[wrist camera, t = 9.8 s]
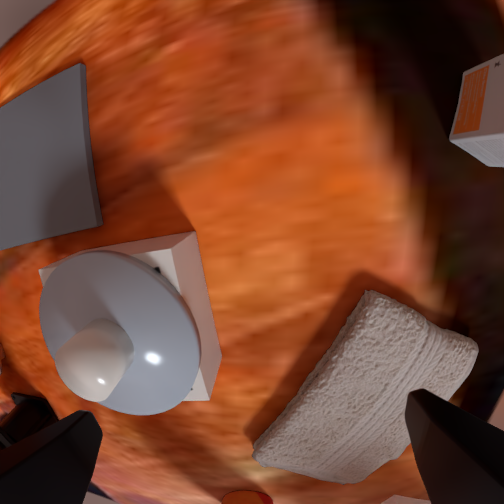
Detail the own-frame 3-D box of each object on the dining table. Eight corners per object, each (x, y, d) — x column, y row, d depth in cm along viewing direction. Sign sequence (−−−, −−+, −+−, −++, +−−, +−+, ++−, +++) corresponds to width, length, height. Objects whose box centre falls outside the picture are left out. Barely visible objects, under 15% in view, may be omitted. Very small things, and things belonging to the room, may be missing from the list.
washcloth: (246, 445, 24) (243, 470, 21) (362, 277, 20) (376, 293, 17) (352, 472, 25) (356, 494, 22) (469, 335, 20) (488, 352, 17)
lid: (83, 400, 18) (56, 435, 14) (30, 263, 15) (-14, 283, 11) (219, 405, 16) (208, 454, 13) (176, 234, 14) (143, 255, 10)
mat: (2, 249, 21) (-4, 251, 20) (-12, 121, 18) (-18, 120, 17) (103, 224, 20) (97, 226, 19) (85, 65, 17) (80, 62, 16)
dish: (114, 359, 22) (85, 395, 17) (80, 250, 20) (38, 269, 15) (221, 356, 21) (209, 400, 16) (195, 230, 19) (170, 248, 15)
